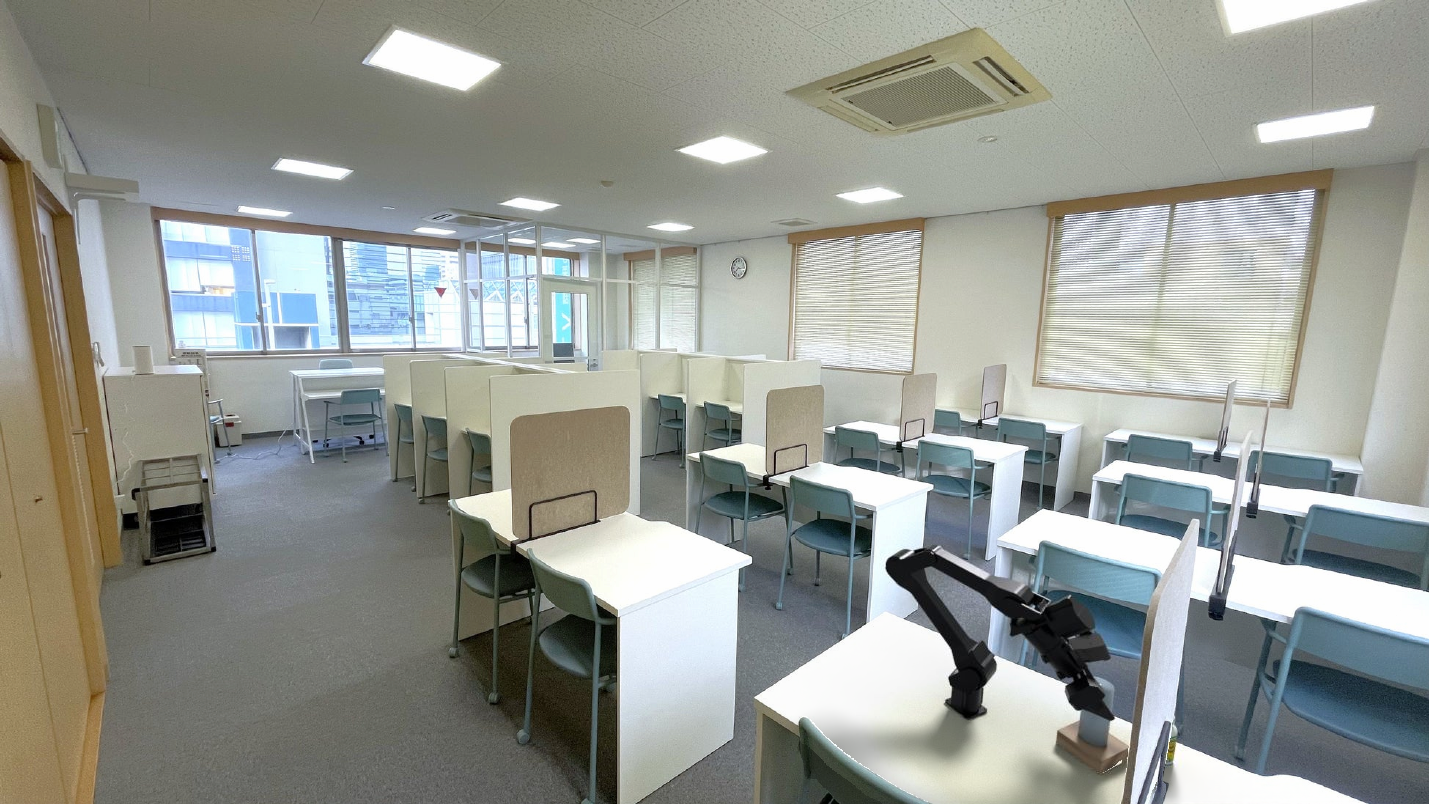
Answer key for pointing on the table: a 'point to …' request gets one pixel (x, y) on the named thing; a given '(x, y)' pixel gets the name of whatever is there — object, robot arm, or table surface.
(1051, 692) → the table surface
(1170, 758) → the supplement bottle
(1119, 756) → the walnut base
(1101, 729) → the slate bottle
